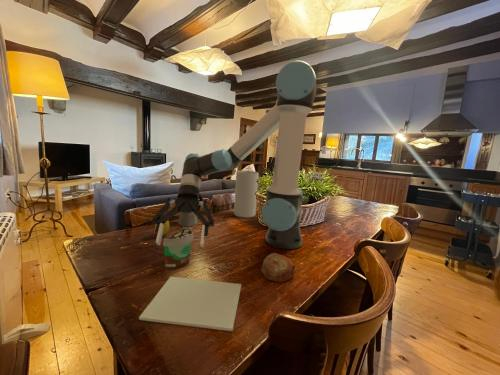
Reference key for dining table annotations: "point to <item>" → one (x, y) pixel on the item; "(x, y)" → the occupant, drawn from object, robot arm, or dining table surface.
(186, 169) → the robot arm
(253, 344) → the dining table surface
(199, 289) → the mat
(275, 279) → the bread roll
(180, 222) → the coffeepot
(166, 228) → the lemon
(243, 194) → the cylinder vase
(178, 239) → the food container
